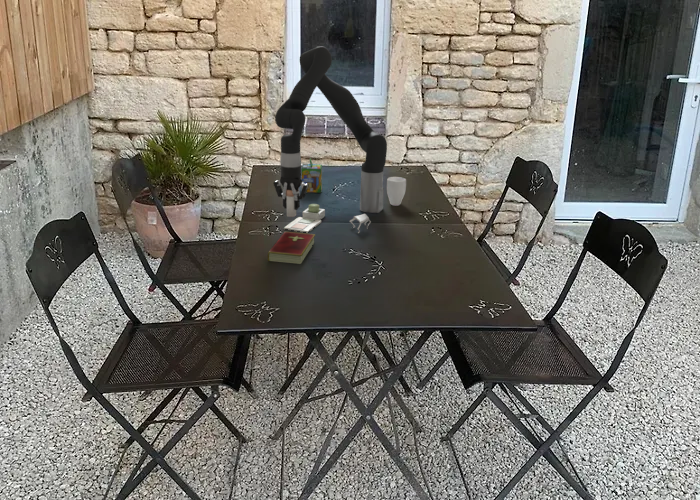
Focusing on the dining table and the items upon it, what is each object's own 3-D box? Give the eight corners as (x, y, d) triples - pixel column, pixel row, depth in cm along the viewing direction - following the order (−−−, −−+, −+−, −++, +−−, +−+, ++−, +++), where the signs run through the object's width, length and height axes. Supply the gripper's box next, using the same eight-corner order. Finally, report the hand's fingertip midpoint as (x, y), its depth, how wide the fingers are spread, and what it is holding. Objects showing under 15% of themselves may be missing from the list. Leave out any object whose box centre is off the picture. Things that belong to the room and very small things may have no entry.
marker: (298, 214, 252) (297, 188, 249) (294, 217, 249) (293, 191, 245) (288, 213, 253) (288, 187, 250) (284, 216, 250) (284, 190, 246)
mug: (404, 207, 291) (406, 182, 287) (385, 206, 291) (387, 181, 287) (404, 199, 302) (406, 174, 298) (386, 198, 303) (387, 174, 298)
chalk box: (321, 193, 307) (321, 161, 301) (301, 192, 307) (301, 161, 301) (322, 187, 315) (322, 157, 310) (302, 187, 315) (303, 156, 310)
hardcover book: (267, 262, 230) (267, 250, 229) (283, 241, 250) (283, 230, 248) (301, 265, 229) (301, 254, 227) (315, 244, 248) (315, 233, 246)
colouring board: (321, 222, 270) (321, 219, 269) (307, 233, 257) (307, 230, 257) (298, 218, 273) (298, 216, 272) (284, 229, 260) (284, 227, 260)
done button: (320, 211, 275) (320, 204, 274) (316, 214, 271) (316, 207, 270) (311, 210, 276) (311, 203, 275) (306, 213, 272) (306, 206, 271)
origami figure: (348, 224, 268) (348, 212, 267) (369, 224, 269) (369, 213, 267) (350, 234, 257) (351, 222, 256) (372, 235, 258) (372, 223, 256)
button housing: (324, 216, 277) (324, 209, 275) (318, 221, 270) (318, 214, 269) (309, 213, 279) (309, 207, 278) (302, 218, 273) (302, 211, 271)
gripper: (312, 163, 245) (312, 208, 251) (277, 159, 249) (278, 203, 256) (304, 168, 238) (304, 214, 245) (268, 164, 243) (269, 209, 249)
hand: (291, 208), depth 250 cm, fingers closed on marker, 3 cm apart
